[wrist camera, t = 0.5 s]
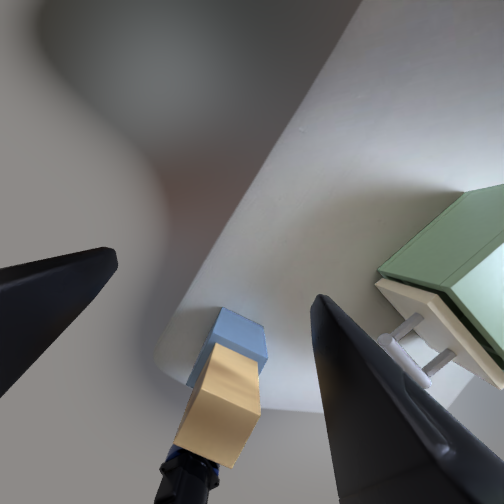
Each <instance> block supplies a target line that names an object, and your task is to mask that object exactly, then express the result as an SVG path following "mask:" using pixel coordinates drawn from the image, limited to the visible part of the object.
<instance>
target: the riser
mask: <svg viewBox="0 0 504 504" xmlns="http://www.w3.org/2000/svg"><path fill="white" fill-rule="evenodd" d="M215 343H218V344H220V345H222V346H224V347H226V348H228V349H231V350H233V351H235V352H237V353H239V354H241V355H243V356H245V357H248V358H250V359H252V360H254V361H256V362H258V376H259V375H260V373H261V371H262V369H263V367H264V365H265V363H266V361H267V359H268V355H267V348H266V342H265V335H264V328H263V326H261V325H259V324H257V323H255V322H253V321H251V320H249V319H247V318H245V317H243V316H240V315H238V314H236V313H234V312H232V311H230V310H228V309H226V308H224V307H222V309H221V311H220V313H219V315H218V317H217V319H216V321H215V323H214V325H213V327H212V329H211V331H210V333H209V335H208V337H207V339H206V341H205V343H204V345H203V347H202V349H201V351H200V353H199V356H198V358H197V360H196V363H195V365H194V367H193V369H192V372H191V374H190V376H189V378H188V381H187V383H186V385H187V386H189V387H191V388H194V386H195V383H196V381H197V379H198V377H199V375H200V373H201V371H202V369H203V367H204V365H205V363H206V361H207V359H208V357H209V355H210V353H211V351H212V349H213V347H214V345H215Z"/></svg>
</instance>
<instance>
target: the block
mask: <svg viewBox="0 0 504 504" xmlns="http://www.w3.org/2000/svg"><path fill="white" fill-rule="evenodd" d="M260 416H261V414H260V396H259V379H258V362H256V361H254V360H252V359H250V358H248V357H245V356H243V355H241V354H239V353H237V352H235V351H233V350H231V349H228V348H226V347H224V346H222V345H220V344H218V343H215V345H214V347H213V349H212V351H211V353H210V355H209V357H208V359H207V361H206V363H205V365H204V367H203V369H202V371H201V373H200V375H199V377H198V379H197V381H196V383H195V386H194V388H193V391H192V394H191V396H190V399H189V401H188V404H187V407H186V409H185V412H184V415H183V418H182V420H181V423H180V425H179V428H178V431H177V433H176V436H175V439H174V441H173V444H175V445H177V446H180V447H182V448H184V449H187V450H189V451H191V452H193V453H196V454H198V455H200V456H203V457H205V458H207V459H209V460H212V461H214V462H216V463H219V464H221V465H223V466H225V467H228V468H230V469H232V468H233V466H234V464H235V462H236V460H237V458H238V457H239V455H240V453H241V451H242V449H243V447H244V445H245V444H246V442H247V440H248V438H249V436H250V434H251V433H252V431H253V429H254V427H255V425H256V423H257V422H258V420H259V418H260Z"/></svg>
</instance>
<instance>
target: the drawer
mask: <svg viewBox="0 0 504 504" xmlns="http://www.w3.org/2000/svg"><path fill="white" fill-rule="evenodd" d="M402 281H403V283H404V284H405V285H404V284H401V283H398V282H394V281H391V280H388V279H384V278H381V279H380V280H379V281H378V282H377V283H376V284H375V286H376V287H377V288H378V289H379V290H380V291H381V293H382V294H383V295H384V296H385V297H386V298H387V299H388V301H389V302H390V303H391V304H392V305H393V306H394V307H395V309H396V310H397V311H398V312H399V313H400V314H401V315H402V316H403V318H404V319H405V320H406V321H404V322H403V323H402V324H401V325H400V326H399V327H397V328H396V329H395V330H394V331H393V332H392V333H390V334H388V333H384V334H381V335H380V336H379V337H378V343H379V344H380V345H381V346H382V348H383V349H384V350H385V351H386V352H387V353H388V354H389V355H390V356H391V358H392V359H393V360H394V361H395V362H396V363H397V364H398V365H399V366H400V367H401V368H402V369H403V371H406V372H407V373H408V374H409V375H410V376H411V377H412V378H413V379H414V380H415V381H416V382H417V383H418V384H419V385H420V386H421V387H422V388H423V389H426V388H429V387H430V386H431V379H430V378H429V377H431V376H433V375H434V374H435V373H436V372H437V371H439V370H440V369H441V368H442V367H443V366H445V365H446V364H447V363H448V362H449V361H451V360H452V361H453V362H455V363H457V364H458V365H460V366H462V367H463V368H465V369H466V370H468V371H470V372H471V373H473V374H475V375H476V376H478V377H480V378H481V379H483V380H485V381H486V382H488V383H489V384H491V385H493V386H495V387H496V388H498V389H500V390H502V389H503V388H504V372H503V371H502V370H501V369H500V367H499V366H498V365H497V364H496V363H495V361H494V360H493V359H492V358H491V357H490V356H489V354H488V353H487V352H486V351H485V350H488V351H490V352H492V353H494V354H496V355H498V353H497V352H496V351H495V350H494V349H493V348H492V346H491V345H490V344H489V343H488V342H487V340H486V339H485V338H484V337H483V336H482V335H481V333H480V332H479V331H478V330H477V329H476V327H475V326H474V325H473V324H472V323H471V322H470V320H469V319H468V318H467V317H466V316H465V315H464V313H463V312H462V311H461V310H460V309H459V307H458V306H457V305H456V304H455V303H454V302H453V300H452V299H451V298H450V297H449V296H448V294H447V293H446V292H444V291H440V290H436V289H433V288H429V287H426V286H422V285H418V284H415V283H411V282H408V281H404V280H402ZM412 329H414V330H415V331H416V332H417V334H418V335H419V336H420V337H421V338H422V339H423V340H424V341H425V343H426V344H427V345H428V346H429V347H430V348H432V349H434V350H435V351H437V352H439V353H440V354H439V355H438V356H437V357H435V358H434V359H433V360H432V361H431V362H429V363H428V364H427V365H426V366H425V367H423V368H422V369H421V368H420V367H419V366H418V364H417V363H416V362H415V361H414V360H413V359H412V358H411V357H410V356H409V354H408V353H407V352H406V351H405V350H404V349H403V348H402V347H401V345H400V344H399V343H398V342H397V341H399V340H400V339H401V338H402V337H404V336H405V335H406V334H407V333H408V332H409V331H411V330H412ZM484 349H485V350H484ZM498 356H499V355H498ZM428 376H429V377H428Z"/></svg>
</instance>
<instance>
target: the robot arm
mask: <svg viewBox="0 0 504 504" xmlns="http://www.w3.org/2000/svg"><path fill="white" fill-rule="evenodd" d="M117 268H118V261H117V256H116V252H115V250H114V249H112V248H107V247H100V248H95V249H90V250H85V251H81V252H76V253H72V254H66V255H62V256H57V257H52V258H47V259H43V260H38V261H33V262H29V263H24V264H19V265H15V266H10V267H5V268H0V398H1V397H2V396H3V395H4V394H5V392H7V391H8V389H9V388H10V387H11V386H12V385H13V384H14V383H15V382H16V381H17V380H18V379H19V378H20V377H21V376H22V375H23V374H24V373H25V371H26V370H27V369H28V368H29V367H30V366H31V365H32V364H33V363H34V362H35V361H36V360H37V359H38V358H39V357H40V356H41V354H43V352H44V351H45V350H46V349H47V348H48V347H49V346H50V345H51V344H52V343H53V342H54V341H55V340H56V339H57V338H58V337H59V336H60V334H61V333H62V332H63V331H64V330H65V329H66V328H67V327H68V326H69V325H70V324H71V323H72V322H73V321H74V320H75V319H76V318H77V317H78V315H79V314H80V313H81V312H82V311H83V310H84V309H85V308H86V307H87V306H88V305H89V304H90V303H91V301H92V300H93V299H94V298H95V297H96V296H97V295H98V293H99V292H100V291H101V289H102V288H103V287H104V285H105V284H106V283H107V282H108V280H109V279H110V278H111V277H112V275H113V274H114V273H115V271H116V270H117ZM310 316H311V332H312V345H313V352H314V358H315V363H316V369H317V375H318V381H319V387H320V392H321V398H322V404H323V410H324V416H325V421H326V427H327V433H328V439H329V445H330V450H331V456H332V462H333V467H334V473H335V479H336V485H337V491H338V496H339V498H340V499H339V503H340V504H504V462H503V461H502V460H501V459H500V458H499V457H498V456H497V455H496V454H494V452H492V451H491V450H490V449H489V448H488V447H487V446H486V445H485V444H483V443H482V442H481V441H480V440H479V439H478V438H477V437H476V436H474V435H473V434H472V433H471V432H470V431H469V430H468V429H467V428H465V427H464V426H463V425H462V424H461V423H460V422H459V421H458V420H456V419H455V418H454V417H453V416H452V415H451V414H450V413H449V412H448V411H447V410H446V409H445V408H443V407H442V406H441V405H440V404H439V403H438V402H437V401H436V400H435V399H434V398H433V397H432V396H430V395H429V394H428V393H427V392H426V391H425V390H424V389H423V388H422V387H421V386H420V385H419V384H418V383H417V382H416V381H415V380H414V379H413V378H412V377H411V376H410V375H409V374H408V373H407V372H406V371H403V369H402V368H401V367H400V366H399V365H398V364H397V363H396V362H395V361H394V360H393V359H392V358H391V357H390V356H389V355H388V354H387V353H386V352H385V351H384V350H383V349H382V348H381V347H380V346H379V345H378V344H377V343H376V342H375V341H374V340H373V339H372V338H371V337H370V336H369V335H368V334H367V333H366V332H365V331H364V330H363V329H361V328H360V327H359V326H358V325H357V324H356V323H355V322H354V321H353V320H352V319H351V318H350V317H349V316H348V315H347V314H346V313H345V312H344V311H343V310H342V309H341V308H340V307H339V306H338V305H337V304H336V303H335V302H334V301H333V300H332V299H331V298H330V297H329V296H327V295H322V294H318V295H317V296H316V298H315V300H314V302H313V304H312V306H311V309H310ZM159 470H160V472H161V474H162V475H163V478H162V481H161V483H160V486H159V489H158V492H157V494H156V497H155V500H154V504H207V503H208V496H209V491H210V490H212V489H214V488H216V487H218V486H219V483H220V479H219V477H218V476H217V474H216V472H215V470H214V469H213V467H212V465H211V464H210V462H209V460H208V459H207V458H205V457H203V456H200V455H198V454H196V453H193V452H191V451H187V452H185V453H183V454H181V455H178V456H176V457H174V458H172V459H170V460H168V461H166V462H164V463H162V464H161V466H160V469H159Z"/></svg>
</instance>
